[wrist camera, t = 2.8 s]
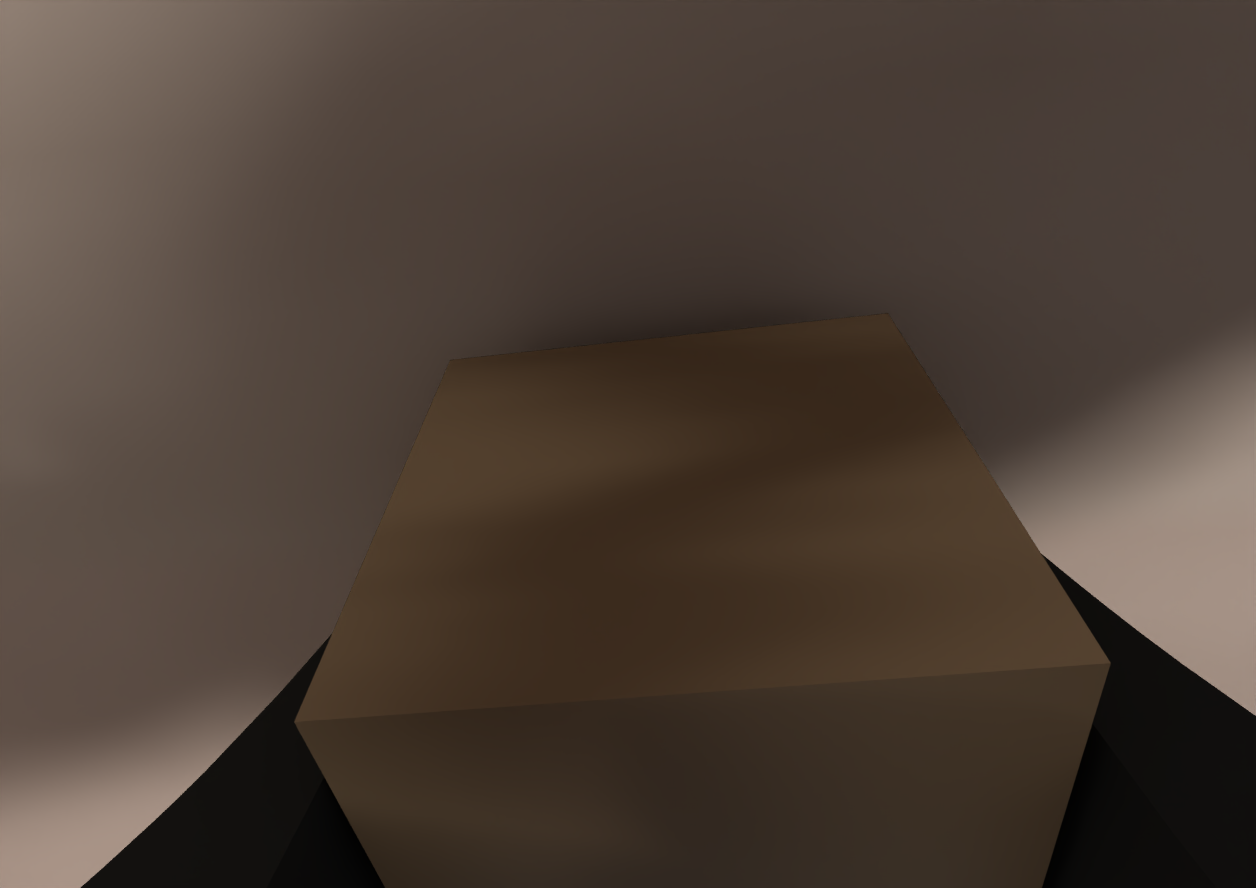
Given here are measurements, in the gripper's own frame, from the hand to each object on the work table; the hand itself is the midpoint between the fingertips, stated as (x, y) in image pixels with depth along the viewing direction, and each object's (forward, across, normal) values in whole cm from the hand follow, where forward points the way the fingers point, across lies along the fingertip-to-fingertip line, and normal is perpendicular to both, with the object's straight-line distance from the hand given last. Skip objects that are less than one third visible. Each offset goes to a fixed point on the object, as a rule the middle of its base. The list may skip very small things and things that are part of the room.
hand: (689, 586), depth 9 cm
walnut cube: (+1, 0, 0) cm, 1 cm away
